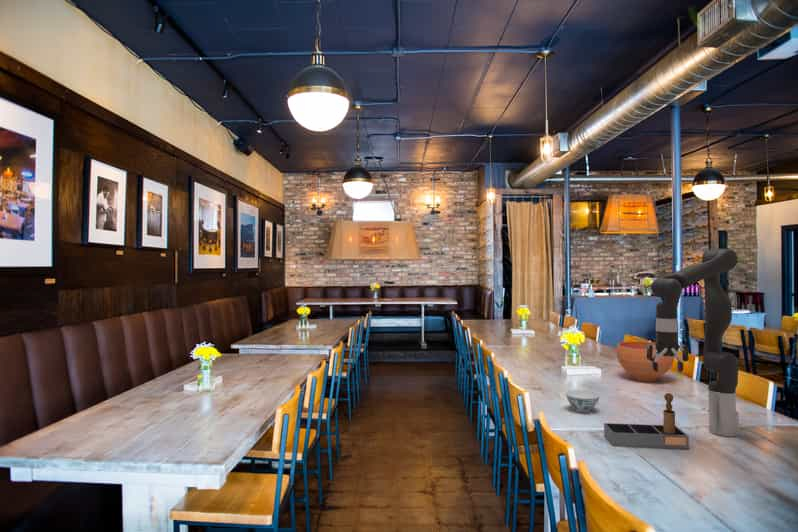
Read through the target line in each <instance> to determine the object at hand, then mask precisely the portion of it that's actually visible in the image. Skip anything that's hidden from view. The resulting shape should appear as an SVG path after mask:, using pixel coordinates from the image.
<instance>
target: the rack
mask: <svg viewBox="0 0 798 532" xmlns="http://www.w3.org/2000/svg"><path fill="white" fill-rule="evenodd" d="M663 430H664V424H643V423H642V424H639V423H638V424H637V423H614V422H613V423H612V422H611V423H610V422H604V423H603V436H604V437H605V439H606V440H607V441H608V443H609V444H610V445H611V446H612V447H628V448H629V447H632V448H652V449H673V450H675V449H678V450H689V449H690V448H689V447H690V440H689V435H688V434H687V433H685V432H684V431H683V430H682V429H681V428H679V426H677V425H675V432H676V433H677V434H678V435H667V434H662V433H661V431H663Z"/></svg>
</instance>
